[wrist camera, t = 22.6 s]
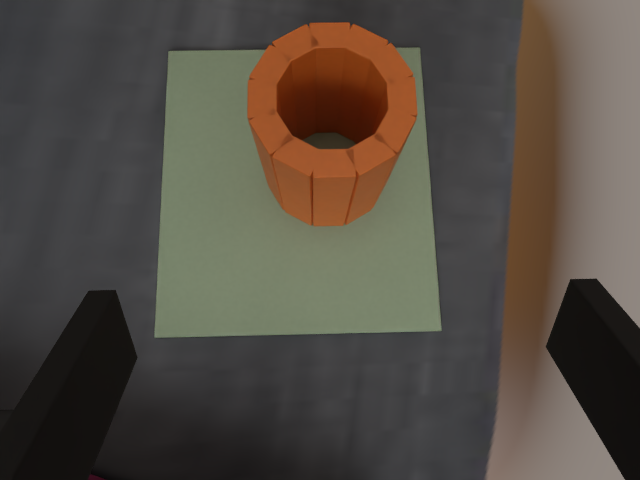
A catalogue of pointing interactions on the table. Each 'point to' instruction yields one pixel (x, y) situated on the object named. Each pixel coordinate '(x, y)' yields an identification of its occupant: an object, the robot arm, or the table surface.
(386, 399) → the table surface
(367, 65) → the orange hollow tube
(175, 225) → the mat
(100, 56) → the table surface
